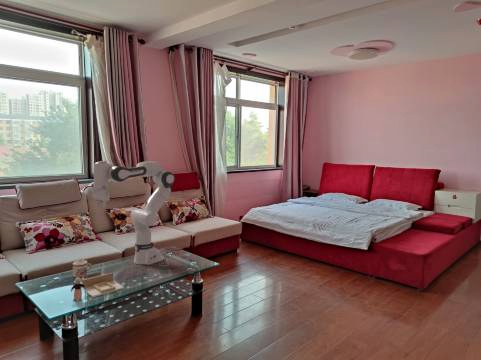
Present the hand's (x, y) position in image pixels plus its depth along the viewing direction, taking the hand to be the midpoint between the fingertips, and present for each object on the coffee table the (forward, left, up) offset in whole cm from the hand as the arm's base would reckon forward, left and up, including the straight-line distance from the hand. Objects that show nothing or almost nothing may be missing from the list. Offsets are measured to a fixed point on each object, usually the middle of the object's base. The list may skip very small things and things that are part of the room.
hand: (100, 206), depth 231 cm
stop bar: (+11, +14, -44) cm, 47 cm away
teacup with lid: (+12, -1, -45) cm, 47 cm away
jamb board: (+11, +22, -45) cm, 51 cm away
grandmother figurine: (+27, +34, -45) cm, 63 cm away
